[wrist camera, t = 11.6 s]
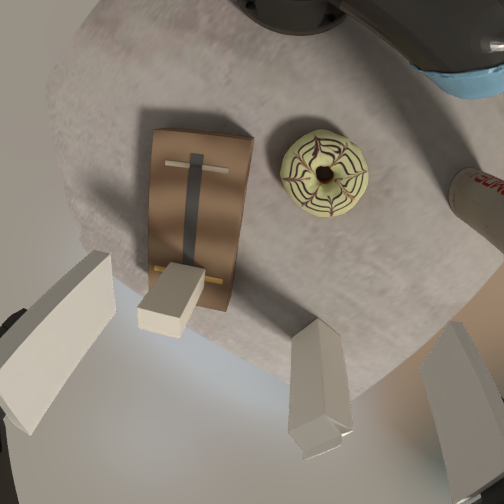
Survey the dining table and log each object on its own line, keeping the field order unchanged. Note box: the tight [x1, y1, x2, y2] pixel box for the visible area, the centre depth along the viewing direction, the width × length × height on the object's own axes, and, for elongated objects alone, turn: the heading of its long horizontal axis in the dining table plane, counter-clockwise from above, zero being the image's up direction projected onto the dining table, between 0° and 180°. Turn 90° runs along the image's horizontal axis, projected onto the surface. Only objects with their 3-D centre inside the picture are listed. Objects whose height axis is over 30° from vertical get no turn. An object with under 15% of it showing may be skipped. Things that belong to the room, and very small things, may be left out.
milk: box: [288, 318, 354, 460], centre depth 39 cm, size 6×6×22 cm
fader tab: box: [137, 262, 205, 339], centre depth 37 cm, size 3×5×11 cm, turn 81°
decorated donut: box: [280, 129, 368, 217], centre depth 36 cm, size 10×11×4 cm
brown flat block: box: [148, 128, 254, 312], centre depth 41 cm, size 24×12×4 cm, turn 171°
